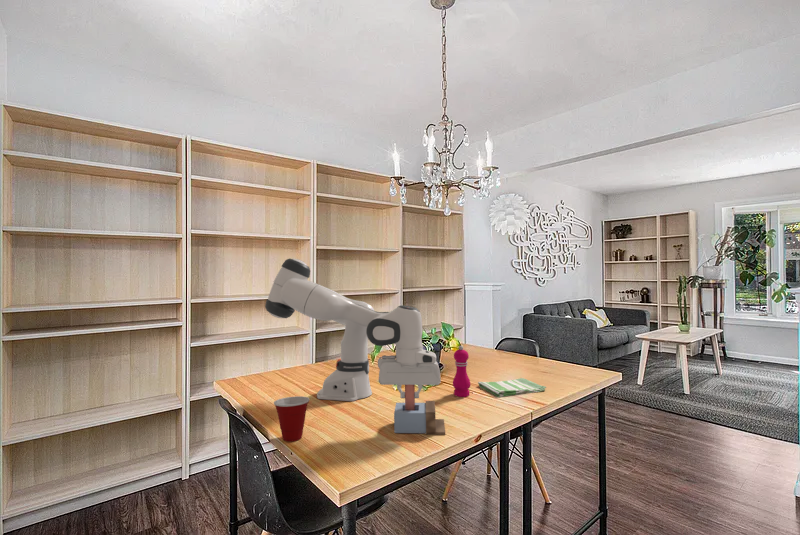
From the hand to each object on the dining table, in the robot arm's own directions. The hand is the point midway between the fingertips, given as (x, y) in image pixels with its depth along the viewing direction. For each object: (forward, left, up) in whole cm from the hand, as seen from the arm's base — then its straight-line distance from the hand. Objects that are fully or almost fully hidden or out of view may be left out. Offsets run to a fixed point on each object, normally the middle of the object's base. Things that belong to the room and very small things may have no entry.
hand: (409, 397), depth 136 cm
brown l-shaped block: (+8, 0, -10) cm, 13 cm away
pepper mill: (+20, +35, -10) cm, 41 cm away
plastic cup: (-36, -9, -10) cm, 39 cm away
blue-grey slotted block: (0, 0, -10) cm, 10 cm away
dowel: (0, 0, -5) cm, 5 cm away
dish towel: (+41, +44, -11) cm, 62 cm away
